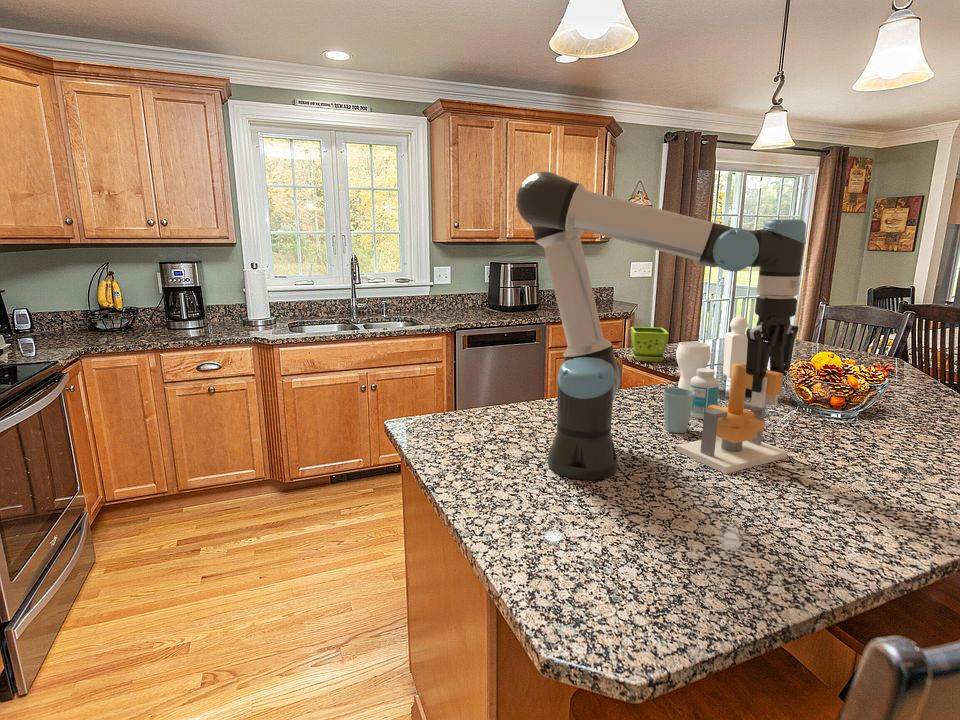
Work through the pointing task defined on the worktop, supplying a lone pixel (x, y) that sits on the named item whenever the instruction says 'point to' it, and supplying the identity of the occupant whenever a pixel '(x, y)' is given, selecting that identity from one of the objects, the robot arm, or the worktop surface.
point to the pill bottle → (703, 391)
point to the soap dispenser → (735, 345)
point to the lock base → (733, 457)
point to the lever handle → (738, 419)
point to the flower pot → (649, 343)
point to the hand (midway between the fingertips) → (763, 404)
